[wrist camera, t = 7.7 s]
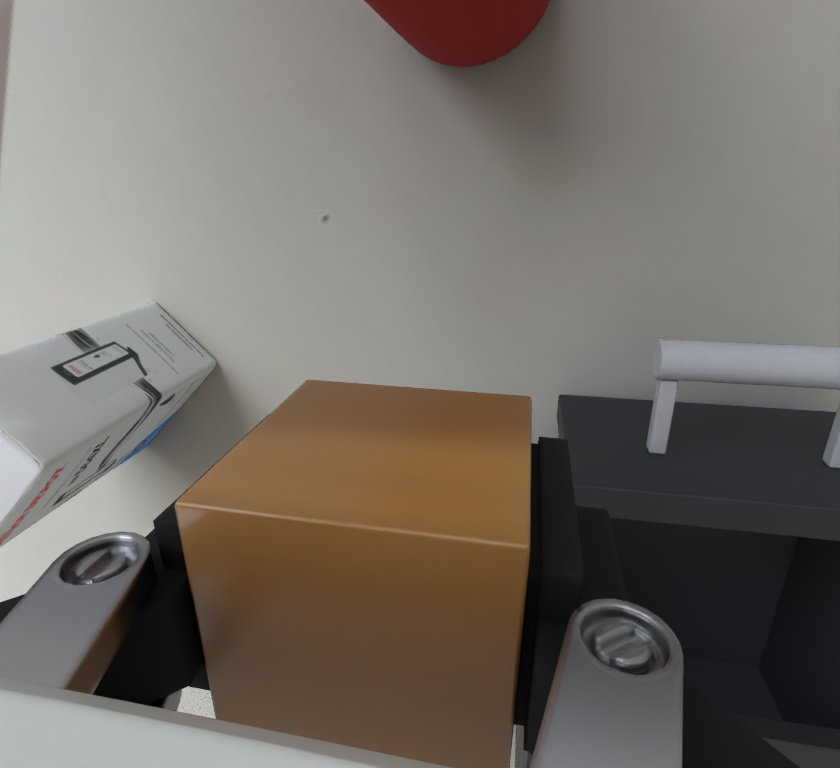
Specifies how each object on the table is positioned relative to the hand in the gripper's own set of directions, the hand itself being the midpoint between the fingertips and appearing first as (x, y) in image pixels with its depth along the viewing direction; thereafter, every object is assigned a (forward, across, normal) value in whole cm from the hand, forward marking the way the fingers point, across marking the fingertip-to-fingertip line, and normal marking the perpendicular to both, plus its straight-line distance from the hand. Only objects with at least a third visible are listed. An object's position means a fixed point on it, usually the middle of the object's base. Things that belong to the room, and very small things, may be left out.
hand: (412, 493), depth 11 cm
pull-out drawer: (+15, -10, +9) cm, 20 cm away
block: (0, 0, 0) cm, 0 cm away
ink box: (+16, +19, +5) cm, 25 cm away
